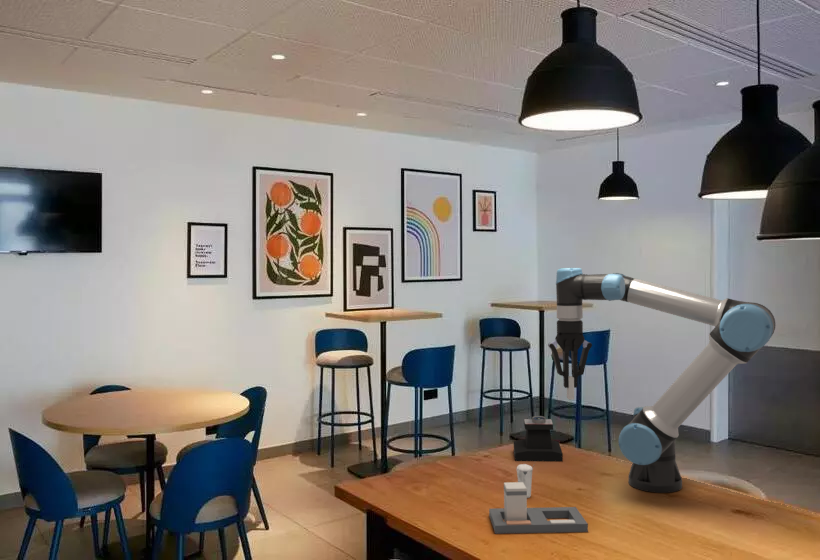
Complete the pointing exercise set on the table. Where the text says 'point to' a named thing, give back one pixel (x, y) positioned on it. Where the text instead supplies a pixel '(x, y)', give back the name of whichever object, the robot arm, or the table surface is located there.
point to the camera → (538, 442)
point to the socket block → (540, 521)
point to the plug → (515, 501)
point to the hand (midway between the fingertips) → (570, 398)
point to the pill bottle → (525, 476)
